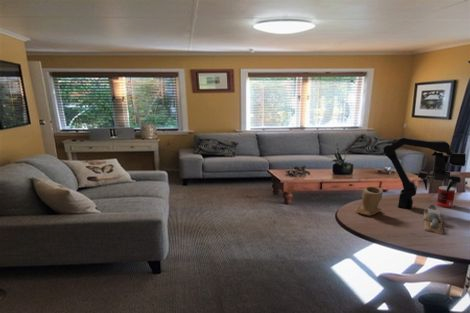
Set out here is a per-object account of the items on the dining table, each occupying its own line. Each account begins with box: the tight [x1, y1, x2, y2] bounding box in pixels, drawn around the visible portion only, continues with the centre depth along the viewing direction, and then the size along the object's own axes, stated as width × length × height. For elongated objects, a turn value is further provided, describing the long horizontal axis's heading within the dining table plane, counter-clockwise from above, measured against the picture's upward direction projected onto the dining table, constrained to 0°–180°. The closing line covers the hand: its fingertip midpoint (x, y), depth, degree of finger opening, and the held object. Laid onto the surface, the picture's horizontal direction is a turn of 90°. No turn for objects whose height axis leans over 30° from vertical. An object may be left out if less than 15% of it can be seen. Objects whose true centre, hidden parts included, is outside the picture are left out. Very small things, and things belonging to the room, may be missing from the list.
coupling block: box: [427, 208, 441, 222], centre depth 144 cm, size 6×5×5 cm
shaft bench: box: [423, 204, 444, 235], centre depth 145 cm, size 8×27×5 cm, turn 148°
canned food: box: [436, 185, 456, 209], centre depth 166 cm, size 8×8×11 cm
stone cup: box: [355, 185, 383, 216], centre depth 156 cm, size 15×12×15 cm
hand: (436, 191), depth 156 cm, fingers open, 9 cm apart
